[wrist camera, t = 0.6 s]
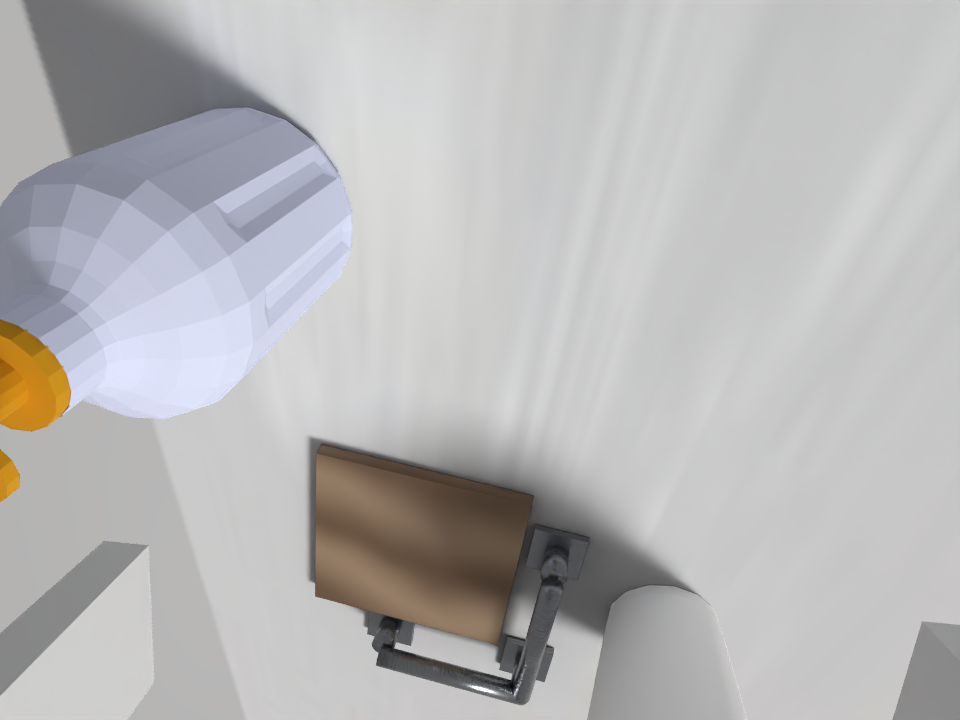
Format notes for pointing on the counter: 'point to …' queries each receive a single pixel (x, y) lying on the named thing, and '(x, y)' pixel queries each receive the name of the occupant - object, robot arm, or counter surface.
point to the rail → (522, 658)
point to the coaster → (416, 543)
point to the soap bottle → (162, 267)
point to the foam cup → (664, 660)
